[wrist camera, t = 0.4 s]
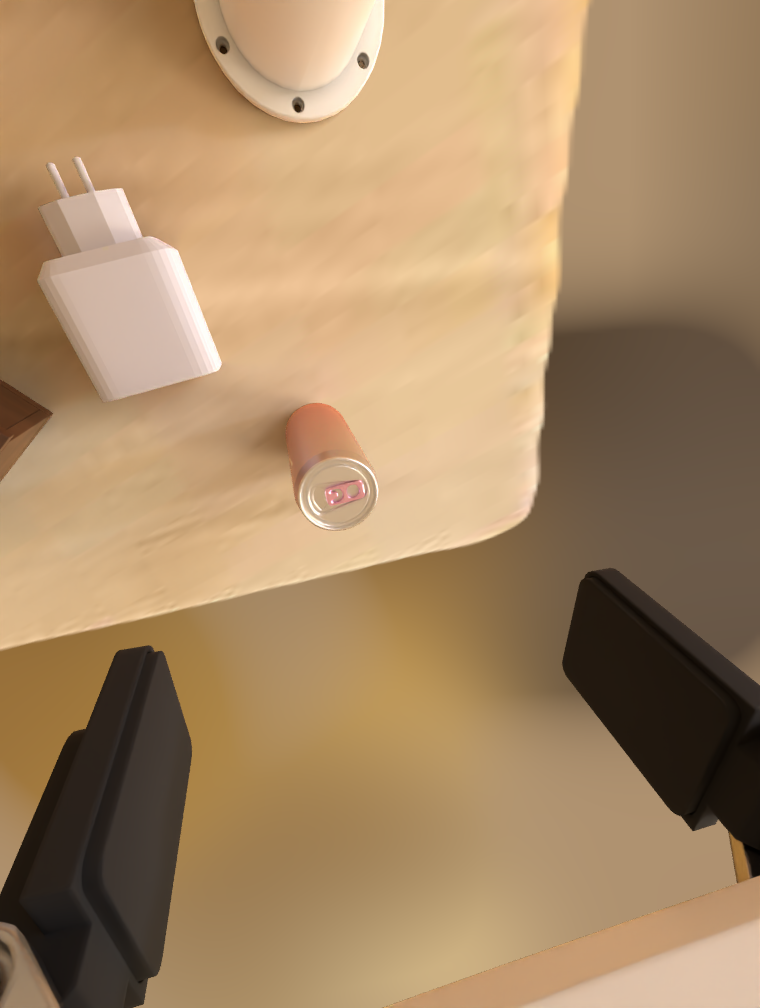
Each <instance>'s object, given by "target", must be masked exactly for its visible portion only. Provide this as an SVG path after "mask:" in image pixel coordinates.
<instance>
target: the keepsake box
mask: <svg viewBox="0 0 760 1008" xmlns="http://www.w3.org/2000/svg"><path fill="white" fill-rule="evenodd" d="M52 415H53V413H52V412H50V411H49V410H47V409H46V408H44V407H42V406H41V405H39V404H38V403H36V402H35V401H33V400H32V399H30V398H29V397H27V396H25V395H24V394H22V393H21V392H19V391H18V390H16V389H15V388H13V387H11V386H10V385H8V384H7V383H5V382H4V381H2V380H1V379H0V426H1V427H2V428H4V429H6V430H7V431H9V432H11V433H12V434H14V436H13V437H12V438H11V440H10V441H9V442H8V444H7V445H6V446H5V447H4V449H3V450H2V451H1V453H0V482H1V480H2V479H3V478H4V476H5V475H6V474H7V473H8V471H9V470H10V469H11V467H12V466H13V465H14V464H15V462H16V461H17V460H18V458H19V457H20V456H21V455H22V453H23V452H24V451H25V449H26V448H27V447H28V445H29V444H30V443H31V442H32V440H33V439H34V438H35V436H36V435H37V434H38V433H39V431H40V430H41V429H42V427H43V426H44V425H45V424H46V422H47V421H48V420H49V418H50V417H51V416H52Z"/></svg>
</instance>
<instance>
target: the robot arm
mask: <svg viewBox="0 0 760 1008" xmlns="http://www.w3.org/2000/svg"><path fill="white" fill-rule="evenodd" d="M194 4H195V8H196V12H197V16H198V20H199V23H200V27H201V30H202V32H203V35H204V37H205V39H206V42H207V44H208V46H209V49H210V51H211V53H212V55H213V57H214V58H215V60H216V62H217V63H218V65H219V67H220V68H221V70H222V72H223V73H224V75H225V76H226V77H227V78H228V80H229V81H230V82H231V83H232V85H233V86H234V87H235V88H236V89H237V91H238V92H240V93H241V94H242V95H243V96H244V97H245V98H246V99H247V100H248V101H250V102H251V103H252V104H253V105H255V106H256V107H258V108H259V109H261V110H263V111H264V112H266V113H267V114H269V115H272V116H274V117H277V118H279V119H282V120H285V121H291V122H298V123H308V122H318V121H321V120H323V119H326V118H329V117H332V116H334V115H335V114H337V113H338V112H340V111H341V110H343V109H344V108H346V107H347V106H348V105H349V104H350V103H351V102H352V101H353V99H354V98H355V97H356V96H357V95H358V94H359V92H360V91H361V89H362V88H363V86H364V85H365V83H366V81H367V80H368V78H369V76H370V74H371V72H372V70H373V67H374V65H375V62H376V58H377V55H378V52H379V48H380V45H381V39H382V32H383V25H384V0H194ZM222 46H224V47H225V48H226V49H227V53H226V54H222V53H221V52H220V48H221V47H222ZM360 61H361V62H363V64H364V68H363V69H362V68H360V67H359V65H358V62H360ZM295 105H299V106H300V108H301V111H300V112H296V111H295V110H294V106H295ZM562 664H563V670H564V672H565V674H566V676H567V678H568V679H569V680H570V682H571V683H572V684H573V685H574V687H575V688H576V689H577V690H578V692H579V693H580V694H581V696H582V697H583V698H584V700H585V701H586V702H587V703H588V705H589V706H590V707H591V709H592V710H593V711H594V713H595V714H596V715H597V716H598V718H599V719H600V720H601V722H602V723H603V724H604V725H605V727H606V728H607V729H608V731H609V732H610V733H611V734H612V736H613V737H614V738H615V739H616V741H617V742H618V743H619V744H620V746H621V747H622V749H623V750H624V751H625V753H626V754H627V755H628V756H629V757H630V759H631V760H632V761H633V763H634V764H635V765H636V767H637V768H638V769H639V771H640V772H641V773H642V774H643V776H644V777H645V778H646V779H647V781H648V782H649V784H650V785H651V786H652V787H653V788H654V790H655V791H656V792H657V794H658V795H659V796H660V798H661V799H662V800H663V801H664V803H665V804H666V805H667V807H668V808H669V809H670V810H671V811H672V812H673V813H675V814H677V815H679V816H681V817H682V818H683V819H684V820H685V822H686V823H687V824H688V826H689V827H690V828H691V829H692V831H695V830H699V829H701V828H705V827H708V826H711V825H714V824H716V822H717V820H718V819H719V820H720V822H721V823H722V824H723V825H724V826H725V827H726V829H727V830H728V833H729V839H730V845H731V851H732V857H733V863H734V869H735V875H736V881H737V884H734V885H731V886H728V887H726V888H722V889H720V890H717V891H714V892H711V893H708V894H705V895H702V896H699V897H696V898H693V899H691V900H687V901H685V902H682V903H679V904H676V905H673V906H670V907H667V908H664V909H661V910H658V911H655V912H653V913H650V914H647V915H644V916H641V917H638V918H635V919H632V920H630V921H627V922H624V923H621V924H618V925H615V926H612V927H610V928H607V929H604V930H601V931H598V932H595V933H593V934H590V935H587V936H584V937H581V938H578V939H575V940H572V941H570V942H567V943H564V944H561V945H558V946H555V947H552V948H549V949H547V950H544V951H541V952H538V953H536V954H532V955H530V956H527V957H524V958H521V959H519V960H515V961H512V962H510V963H507V964H504V965H501V966H498V967H495V968H493V969H490V970H487V971H484V972H481V973H478V974H476V975H473V976H470V977H467V978H464V979H462V980H459V981H456V982H453V983H450V984H448V985H445V986H442V987H439V988H436V989H433V990H431V991H428V992H425V993H422V994H419V995H417V996H414V997H411V998H408V999H405V1000H403V1001H400V1002H397V1003H394V1004H391V1005H389V1006H386V1007H383V1008H760V685H759V684H757V683H756V682H755V681H754V680H752V679H751V678H750V677H748V676H747V675H746V674H745V673H744V672H742V671H741V670H740V669H739V668H737V667H736V666H735V665H734V664H733V663H731V662H730V661H729V660H728V659H726V658H725V657H724V656H723V655H721V654H720V653H719V652H718V651H716V650H715V649H714V648H713V647H712V646H710V645H709V644H708V643H706V642H705V641H704V640H703V639H702V638H700V637H699V636H698V635H697V634H695V633H694V632H693V631H692V630H691V629H689V628H688V627H687V626H686V625H684V624H683V623H682V622H681V621H679V620H678V619H677V618H676V617H674V616H673V615H672V614H671V613H669V612H668V611H667V610H666V609H665V608H663V607H662V606H661V605H660V604H658V603H657V602H656V601H655V600H653V599H652V598H651V597H650V596H648V595H647V594H646V593H645V592H644V591H642V590H641V589H640V588H639V587H637V586H636V585H635V584H634V583H632V582H631V581H630V580H629V579H627V578H626V577H625V576H624V575H623V574H621V573H620V572H619V571H617V570H616V569H613V568H608V569H602V570H596V571H591V572H588V573H587V574H586V575H585V578H584V579H583V580H581V582H580V585H579V589H578V593H577V598H576V602H575V607H574V611H573V616H572V620H571V625H570V629H569V634H568V638H567V643H566V647H565V652H564V656H563V662H562ZM191 757H192V746H191V739H190V736H189V732H188V729H187V726H186V723H185V720H184V716H183V713H182V710H181V707H180V703H179V700H178V697H177V694H176V690H175V687H174V684H173V681H172V677H171V674H170V671H169V668H168V664H167V661H166V658H165V655H164V653H163V652H162V651H158V652H154V650H153V648H152V647H151V646H142V647H137V648H131V649H124V650H119V651H118V652H117V653H116V654H115V656H114V659H113V661H112V664H111V666H110V669H109V671H108V674H107V676H106V679H105V681H104V684H103V687H102V690H101V692H100V694H99V697H98V699H97V702H96V704H95V707H94V710H93V712H92V715H91V717H90V720H89V722H88V725H87V727H86V729H83V730H78V731H75V732H73V733H72V734H71V735H70V736H69V737H68V739H67V740H66V742H65V744H64V746H63V748H62V751H61V753H60V755H59V758H58V760H57V762H56V765H55V767H54V769H53V772H52V774H51V776H50V779H49V781H48V783H47V786H46V788H45V791H44V793H43V795H42V798H41V800H40V802H39V805H38V807H37V809H36V812H35V814H34V816H33V819H32V821H31V824H30V826H29V828H28V831H27V833H26V835H25V837H24V840H23V842H22V845H21V847H20V849H19V852H18V854H17V856H16V859H15V861H14V864H13V866H12V868H11V870H10V873H9V875H8V877H7V880H6V882H5V884H4V887H3V889H2V892H1V894H0V1008H133V1007H136V1006H139V1005H143V1004H144V999H145V993H146V987H147V981H148V978H151V977H154V976H156V975H157V974H158V972H159V970H160V966H161V961H162V957H163V950H164V943H165V935H166V929H167V922H168V916H169V909H170V902H171V895H172V888H173V881H174V874H175V868H176V861H177V854H178V846H179V840H180V833H181V827H182V819H183V812H184V806H185V799H186V792H187V785H188V778H189V772H190V765H191Z"/></svg>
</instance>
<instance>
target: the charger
mask: <svg viewBox="0 0 760 1008" xmlns="http://www.w3.org/2000/svg"><path fill="white" fill-rule="evenodd" d="M72 160H73V162H74V165H75V167H76V169H77V171H78V173H79V176H80V178H81V180H82V182H83V184H84V187H85V189H86V191H87V193H84V194H80V195H75V196H71V197H70V196H69V194H68V192H67V190H66V188H65V186H64V184H63V181H62V179H61V177H60V175H59V173H58V171H57V169H56V167H55V164H53V163H50V162H49V163H47V164H46V167H47V169H48V171H49V173H50V175H51V177H52V180H53V182H54V184H55V186H56V188H57V190H58V192H59V194H60V196H61V198H62V199H58V200H55V201H52V202H50V203H47V204H44V205H42V206H40V207H38V210H39V212H40V214H41V216H42V218H43V220H44V222H45V224H46V226H47V228H48V229H49V231H50V233H51V235H52V237H53V239H54V241H55V243H56V245H57V247H58V249H59V251H60V253H61V255H62V257H60V258H56V259H52V260H48V261H45V262H43V265H42V268H41V271H40V273H39V276H38V279H37V282H38V284H39V286H40V287H41V289H42V291H43V293H44V295H45V297H46V298H47V300H48V302H49V304H50V306H51V308H52V310H53V311H54V313H55V315H56V317H57V319H58V321H59V322H60V324H61V326H62V328H63V330H64V332H65V334H66V335H67V337H68V339H69V341H70V343H71V345H72V346H73V348H74V350H75V352H76V354H77V356H78V357H79V359H80V361H81V363H82V365H83V367H84V369H85V370H86V372H87V374H88V376H89V378H90V380H91V381H92V383H93V385H94V387H95V389H96V391H97V393H98V394H99V396H100V398H101V400H102V402H110V401H114V400H118V399H122V398H125V397H129V396H132V395H136V394H140V393H143V392H147V391H150V390H154V389H157V388H161V387H165V386H168V385H172V384H175V383H179V382H183V381H186V380H190V379H193V378H197V377H200V376H204V375H207V374H210V373H213V372H215V371H218V370H219V369H220V366H221V364H222V363H221V360H220V357H219V355H218V352H217V350H216V347H215V345H214V342H213V340H212V337H211V334H210V332H209V329H208V327H207V324H206V322H205V319H204V317H203V314H202V312H201V309H200V306H199V304H198V301H197V299H196V296H195V294H194V291H193V289H192V286H191V283H190V281H189V278H188V276H187V273H186V271H185V268H184V266H183V263H182V260H181V258H180V255H179V253H178V250H176V249H175V248H173V247H171V246H170V245H168V244H166V243H165V242H163V241H161V240H160V239H157V238H155V237H152V236H147V237H143V236H142V234H141V232H140V229H139V227H138V225H137V222H136V220H135V217H134V215H133V213H132V210H131V208H130V205H129V203H128V201H127V198H126V196H125V194H124V191H123V189H122V188H116V189H108V190H100V191H95V189H94V187H93V185H92V183H91V180H90V178H89V176H88V174H87V171H86V169H85V167H84V165H83V162H82V160H81V158H80V157H73V159H72Z"/></svg>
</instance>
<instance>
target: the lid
mask: <svg viewBox="0 0 760 1008" xmlns="http://www.w3.org/2000/svg"><path fill="white" fill-rule="evenodd" d="M13 436H14V434H12V433H11V432H9V431H7V430H6V429H4V428H2V427H1V426H0V453H1V451H2V450H3V449H4V447H5V446H6V445H7V444H8V442H9V441H10V440H11V438H12V437H13Z"/></svg>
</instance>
